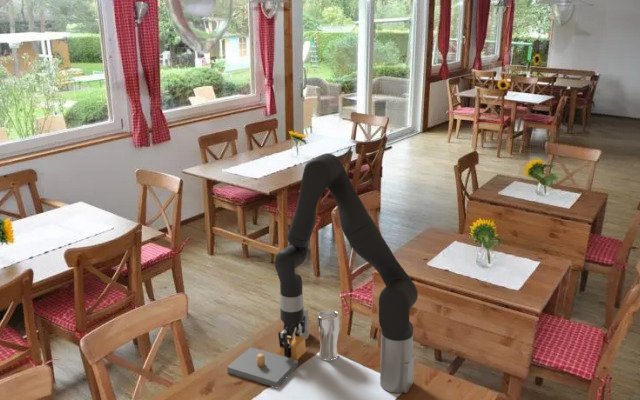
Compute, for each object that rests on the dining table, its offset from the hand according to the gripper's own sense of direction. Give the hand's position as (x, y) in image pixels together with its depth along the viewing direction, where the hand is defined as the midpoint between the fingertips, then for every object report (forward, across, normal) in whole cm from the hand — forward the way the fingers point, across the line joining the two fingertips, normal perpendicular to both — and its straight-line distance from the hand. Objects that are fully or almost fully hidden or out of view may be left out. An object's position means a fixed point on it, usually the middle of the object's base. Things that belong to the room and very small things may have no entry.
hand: (293, 351), depth 194 cm
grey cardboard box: (+1, +11, +4) cm, 12 cm away
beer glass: (+1, +4, -11) cm, 12 cm away
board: (+1, -12, +4) cm, 13 cm away
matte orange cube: (+1, 0, 0) cm, 1 cm away
